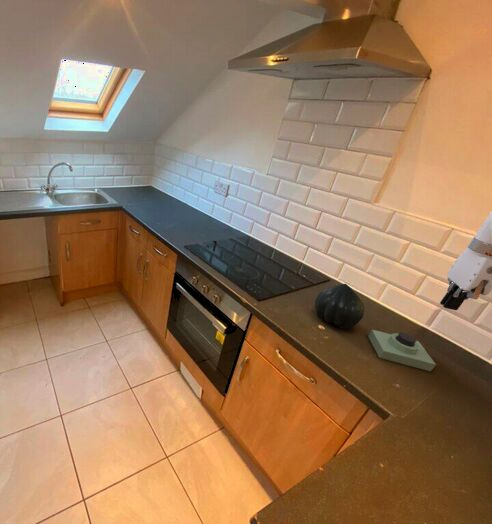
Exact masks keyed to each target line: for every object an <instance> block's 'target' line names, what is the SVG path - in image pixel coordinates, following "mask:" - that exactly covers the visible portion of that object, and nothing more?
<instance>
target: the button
mask: <svg viewBox="0 0 492 524" xmlns="http://www.w3.org/2000/svg"><path fill="white" fill-rule="evenodd" d="M398 334H399V335H398V336H397V338H396V340H397V341H399V342H400V343H402V344H404V345H406V346H409V347H412V346H413V345H414V344H415V342H416V341H417V339H416V338H415V337H414V336H412V335H411V334H408V333H406V332H399V333H398Z"/></svg>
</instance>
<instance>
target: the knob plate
mask: <svg viewBox="0 0 492 524" xmlns="http://www.w3.org/2000/svg"><path fill="white" fill-rule="evenodd" d="M398 335H399V333H387V332H383V331H380V330H375V329H371V330H370V331H369V333H368V334H367V337H368V339H369V341H370V342H371V345H372V347H373V348H374V350H375V352H376V354H377V356H378V358H380V359H383V360H386V361H391V362H394V363H397V364H401V365H405V366H409V367H413V368H415V369H416V368H417V369H420V370H424V371H427V372H432V370H433V369H435V367H436V366H437V364H436V363H435V361H434V360H433V359H432V357H431V356H430V355H429V353H428V352H427V350H426V349H425V348H424V346H423V345H422V344H421V343H420V341H419V340H416V342H415V344H414V345H413V346H412V347H409V346H406V345H404V344H402V343H400V342H399V341H397V340H396V338H397V336H398Z"/></svg>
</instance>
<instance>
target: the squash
mask: <svg viewBox="0 0 492 524" xmlns="http://www.w3.org/2000/svg"><path fill="white" fill-rule="evenodd" d="M314 308H315V314H316V316H317V317H318V319H320V320H322V321H324V322H326V323H327V324H333V325H335V326H337V327H338V328H341V329H343V330H350V329H352V328H354V327H355V326H356V325H357V324H359V323H360V321H362V319H363V318H364V315H365V312H366V311H365V304H364V302H363V301H362V299H361V298H360V297H359V296H358V294H357V293H356V292H355V291H354V289H352V287H351V286H349V284H347V283H342V284H338V285H334V286H331V287H328V288H325V289H323V290H322V291H320V292H319V293H318V295H317V296H316V297H315V301H314Z"/></svg>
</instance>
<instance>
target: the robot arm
mask: <svg viewBox="0 0 492 524" xmlns="http://www.w3.org/2000/svg"><path fill="white" fill-rule="evenodd" d="M486 249H487V252H488V253H490V254H491V253H492V210H491V211H490V213H489V214H488V216H487V217H486V218H485V221H483V223H482V225H481V226H480V227H479V229H478V231H477V232H476V234H475V235H474V237H473V238H472V239H471V241H470V242H469V243H468V245H467V247H466V249H464V250H463V251H462V252H461V254H459V256H458V257H457V258H456V259H455V261H454V262H453V264H452V265H451V267H450V268H449V270H448V272H447V274H446V276H447V281H448V285H449V286H448V287H447V289H446V293H445V295H444V296H443V297H442V299H441V300H440V302H439V304H440V305H441V306H442V307H443V308H444V309H447V310H451V311H452V310H453V311H458V310H459V309H460V307H461V306H462V304H463V303H464V301H467V300H469V299H472V300H478V299H479V296H480V295H482V296H488V295H489V294H490V293H491V291H492V256H489V254H488V255H486V254H485V253H486V251H485V250H486Z"/></svg>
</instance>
